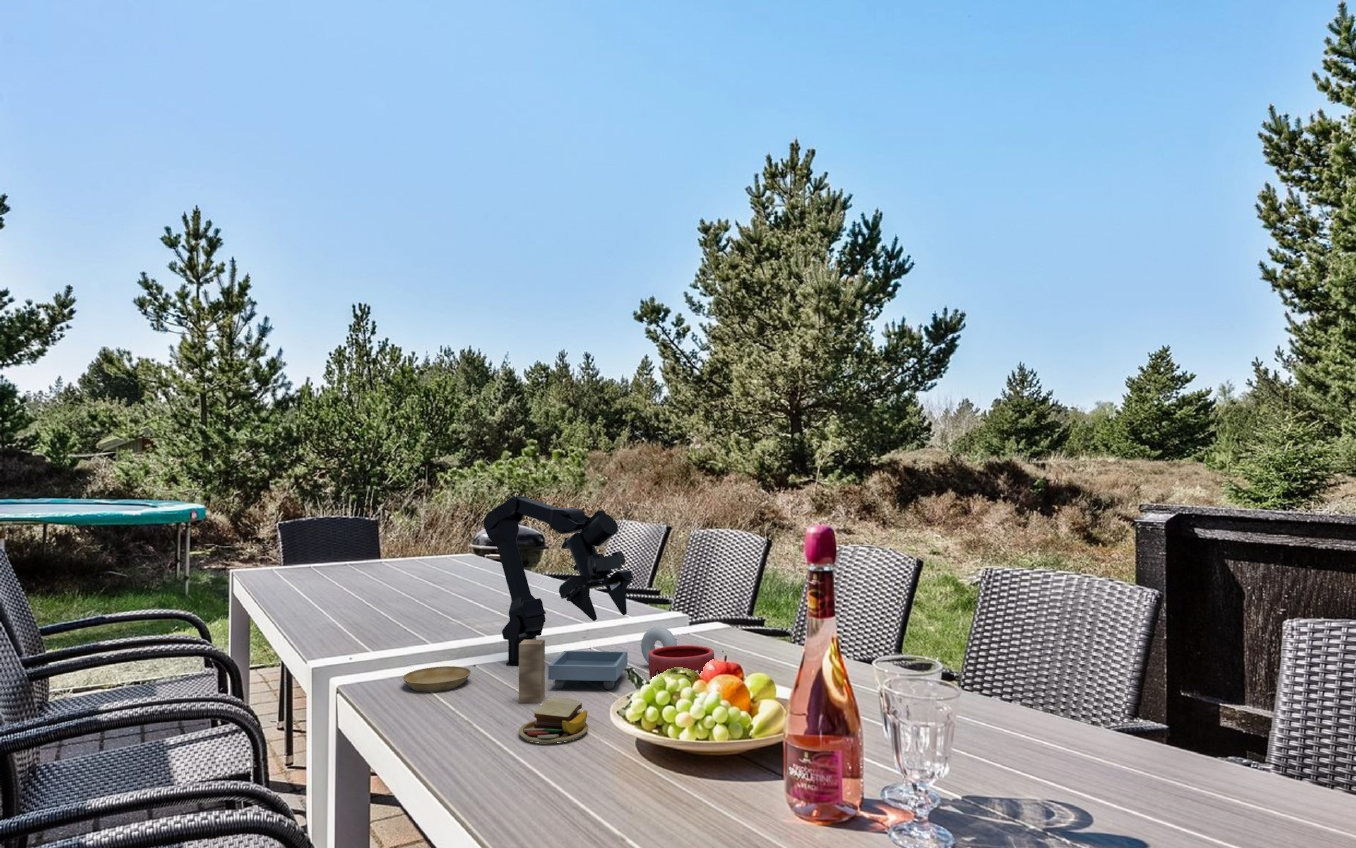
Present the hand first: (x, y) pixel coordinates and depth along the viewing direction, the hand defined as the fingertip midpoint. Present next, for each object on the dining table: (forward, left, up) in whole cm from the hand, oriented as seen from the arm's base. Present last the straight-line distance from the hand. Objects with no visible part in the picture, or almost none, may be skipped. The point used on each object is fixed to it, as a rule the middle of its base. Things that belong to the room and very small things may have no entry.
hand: (610, 617), depth 175 cm
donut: (+9, +13, -15) cm, 22 cm away
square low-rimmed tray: (-5, -1, -15) cm, 15 cm away
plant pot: (+18, -20, -15) cm, 31 cm away
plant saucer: (-39, -5, -15) cm, 42 cm away
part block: (-14, -15, -15) cm, 25 cm away
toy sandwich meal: (-4, -34, -15) cm, 37 cm away
